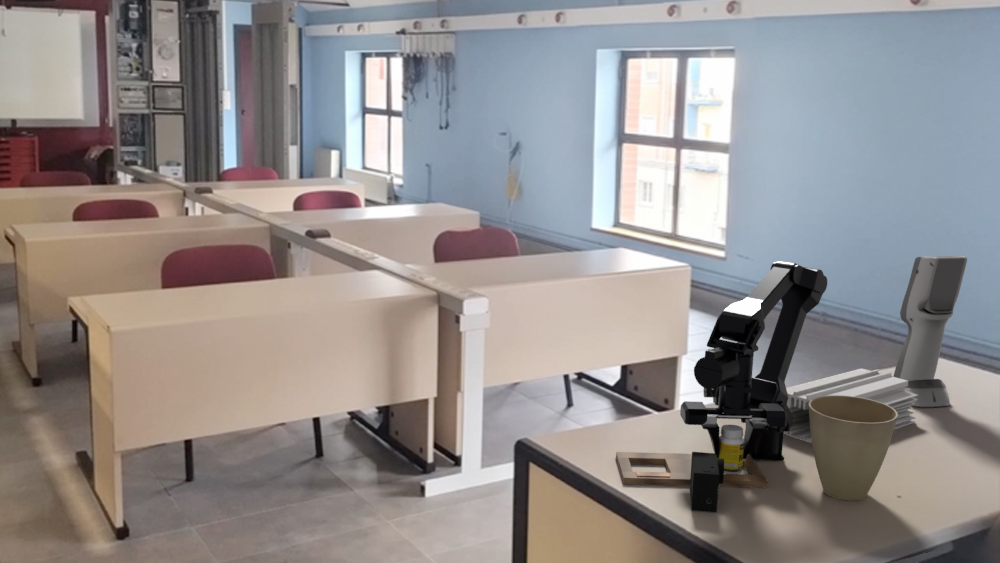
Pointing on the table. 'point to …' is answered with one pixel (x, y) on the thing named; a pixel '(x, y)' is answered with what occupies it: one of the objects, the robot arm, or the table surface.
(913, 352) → the thermal camera
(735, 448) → the supplement bottle
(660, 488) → the table surface
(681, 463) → the jack panel
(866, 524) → the table surface
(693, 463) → the digital camera
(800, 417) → the aluminum extrusion profile
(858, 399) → the plant pot
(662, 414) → the table surface
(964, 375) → the table surface
